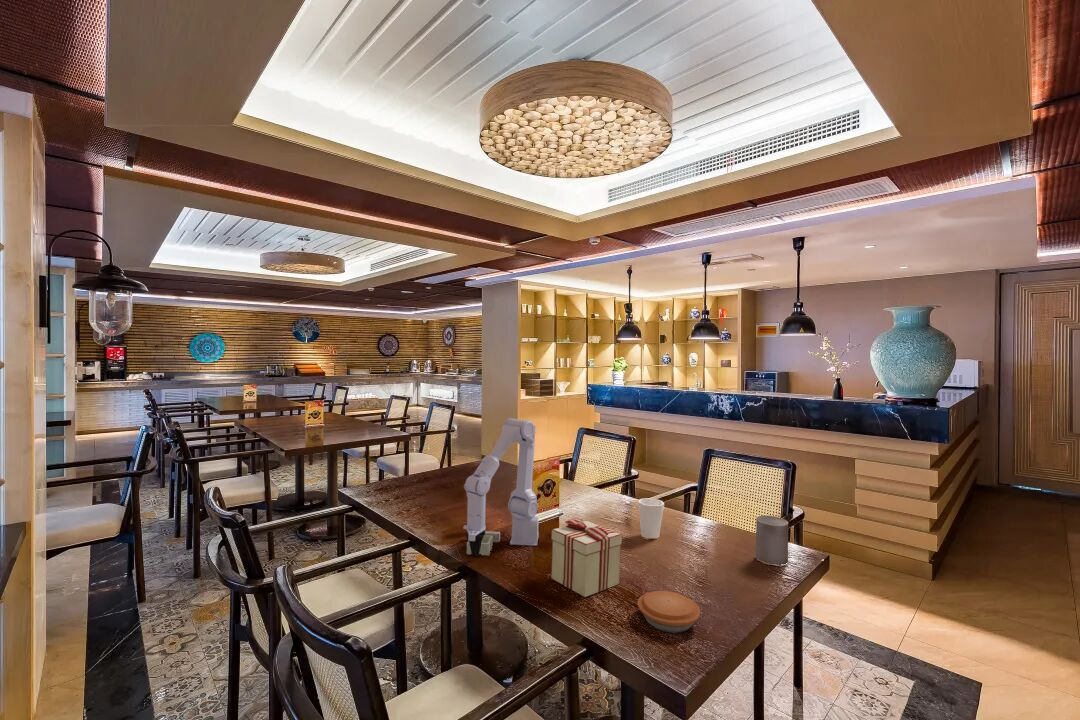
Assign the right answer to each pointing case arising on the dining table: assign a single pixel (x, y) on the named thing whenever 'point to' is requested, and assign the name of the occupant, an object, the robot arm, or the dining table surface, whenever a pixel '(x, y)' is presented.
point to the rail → (495, 535)
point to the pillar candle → (772, 539)
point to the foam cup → (650, 516)
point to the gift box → (585, 556)
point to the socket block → (483, 545)
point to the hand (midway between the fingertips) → (475, 554)
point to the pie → (668, 610)
